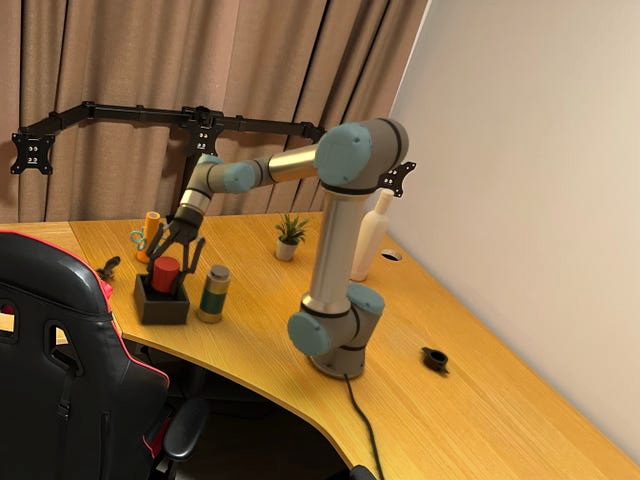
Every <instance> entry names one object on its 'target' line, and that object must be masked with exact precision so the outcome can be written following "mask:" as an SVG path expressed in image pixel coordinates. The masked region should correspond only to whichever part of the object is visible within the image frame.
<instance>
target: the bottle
mask: <svg viewBox="0 0 640 480" xmlns="http://www.w3.org/2000/svg"><path fill="white" fill-rule="evenodd" d="M394 195H395V192H394V190H392V189H390V188H383V189H382V190H381V192H380V194H379V198H378V200H377V202H376V205H375V207H374V209H372V210H370V211H368V212H367V213H366V214H365V215H364V216H363V218H362V223H361V227H360V232H359V237H358V242H357V246H356V251H355V256H354V261H353V265H352V270H351V275H350V280H351V281H355V282H360V281H364V280H366V277H367V276H368V275H369V272H370V268H371V266H372V264H373V261H374V259H375V257H376V255H377V253H378V251H379V248H380V245H381V243H382V241H383V238H384V236H385V234H386V232H387V229H388V227H389V217H388V214H387V212H388V209H389V207H390V205H391V202H392V200H393V199H394Z"/></svg>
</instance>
